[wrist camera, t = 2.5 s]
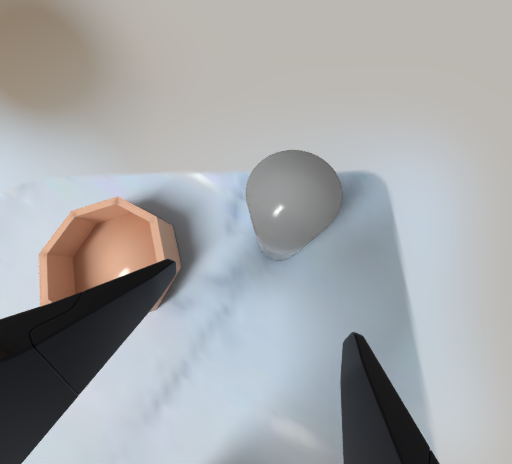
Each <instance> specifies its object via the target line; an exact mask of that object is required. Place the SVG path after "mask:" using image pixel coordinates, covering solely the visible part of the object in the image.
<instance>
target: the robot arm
mask: <svg viewBox="0 0 512 464" xmlns="http://www.w3.org/2000/svg"><path fill="white" fill-rule="evenodd" d="M175 275H176V262H175V261H174V260H171V259H165V260H162V261H160V262H157V263H155V264H152V265H149V266H147V267H144V268H142V269H139V270H136V271H134V272H131V273H129V274H126V275H123V276H121V277H118V278H116V279H113V280H110V281H108V282H105V283H103V284H100V285H98V286H95V287H92V288H90V289H87V290H85V291H84V292H83V291H82V292H79V293H77V294H74V295H71V296H69V297H66V298H63V299H60V300H58V301H55V302H52V303H49V304H46V305H43V306H40V307H37V308H34V309H31V310H28V311H25V312H22V313H19V314H16V315H12V316H9V317H6V318H3V319H0V464H21V463H22V462H23V461H24V460H25V459H26V458H27V456H28V455H29V454H30V453H31V452H32V450H33V449H34V448H35V447H36V446H37V444H38V443H39V442H40V441H41V440H42V439H43V437H44V436H45V435H46V434H47V433H48V431H49V430H50V429H51V428H52V427H53V425H54V424H55V423H56V422H57V421H58V420H59V418H60V417H61V416H62V415H63V414H64V412H65V411H66V410H67V409H68V408H69V406H70V405H71V404H72V403H73V402H74V401H75V399H76V398H77V397H78V396H79V394H80V393H81V392H82V391H83V390H84V388H85V387H86V386H87V385H88V384H89V383H90V381H91V380H92V379H93V378H94V377H95V375H96V374H97V373H98V372H99V371H100V369H101V368H102V367H103V366H104V365H105V364H106V362H107V361H108V360H109V359H110V358H111V356H112V355H113V354H114V353H115V352H116V351H117V349H118V348H119V347H120V346H121V345H122V343H123V342H124V341H125V340H126V339H127V337H128V336H129V335H130V334H131V333H132V332H133V330H134V329H135V328H136V327H137V326H138V324H139V323H140V322H141V321H142V320H143V318H144V317H145V316H146V315H147V314H148V313H149V311H150V310H151V309H152V308H153V307H154V305H155V304H156V303H157V302H158V300H159V299H160V297H161V296H162V295H163V293H164V292H165V290H166V289H167V287H168V286H169V284H170V283H171V281H172V280H173V278H174V277H175ZM341 408H342V432H343V457H344V464H439V462H438V460H437V459H436V457H435V455H434V454H433V452H432V451H431V450H430V447H429V445H428V444H427V442H426V440H425V439H424V437H423V435H422V434H421V432H420V430H419V429H418V427H417V425H416V424H415V422H414V420H413V419H412V417H411V415H410V414H409V412H408V410H407V409H406V407H405V405H404V404H403V402H402V400H401V399H400V397H399V395H398V394H397V392H396V390H395V389H394V387H393V385H392V383H391V382H390V380H389V378H388V377H387V375H386V373H385V372H384V370H383V368H382V367H381V365H380V363H379V362H378V360H377V358H376V357H375V355H374V353H373V352H372V350H371V348H370V347H369V345H368V343H367V342H366V340H365V338H364V337H363V336H362V335H360V334H358V333H355V332H352V333H351V334H350V335H349V336H348V337H347V338H346V339H345V340H344V342H343V349H342V365H341Z"/></svg>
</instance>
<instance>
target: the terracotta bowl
mask: <svg viewBox="0 0 512 464" xmlns="http://www.w3.org/2000/svg"><path fill="white" fill-rule="evenodd" d="M165 259H171V260H174V261H175V262H176V275H175V277H176V276H177V274H178V272H179V271H180V269H181V267H182V266H181V262H180V257H179V252H178V248H177V243H176V238H175V233H174V229H173V226H172V225H171V224H169V223H167V222H165V221H163V220H162V219H160V218H158V217H156V216H154V215H152V214H150V213H148V212H147V211H145V210H143V209H141V208H139V207H137V206H135V205H133V204H131V203H129V202H128V201H126V200H124V199H122V198H120V197H114V198H111V199H108V200H105V201H102V202H98V203H95V204H92V205H89V206H86V207H83V208H79V209H76V210H73V211H71V212H70V213H69V215H68V216H67V217H66V219H65V220H64V221H63V223H62V224H61V225H60V227H59V228H58V229H57V231H56V232H55V233H54V235H53V236H52V237H51V239H50V240H49V241H48V243H47V244H46V245H45V247H44V248H43V249H42V251H41V252H40V253H39V278H40V306H43V305H46V304H49V303H52V302H55V301H58V300H60V299H63V298H66V297H69V296H71V295H74V294H77V293H79V292H82V291H83V292H84V291H85V290H87V289H90V288H92V287H95V286H98V285H100V284H103V283H105V282H108V281H110V280H113V279H116V278H118V277H121V276H123V275H126V274H129V273H131V272H134V271H136V270H139V269H142V268H144V267H147V266H149V265H152V264H155V263H157V262H160V261H162V260H165ZM175 277H174V278H173V280H172V281H171V283H170V284H169V286H168V287H167V289H166V290H165V292H164V293H163V295H162V296H161V297H160V299H159V300H158V302H157V303H156V304H155V305H154V307H153V308H152V309H151V310H150V311H149V312H151V311H154V310H157V308H158V306H159V305H160V303H161V301H162V299H163V298H164V296H165V294H166V293H167V291H168V289H169V288H170V286H171V284H172V283H173V281H174V279H175Z"/></svg>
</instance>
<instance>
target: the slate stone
mask: <svg viewBox="0 0 512 464" xmlns="http://www.w3.org/2000/svg"><path fill="white" fill-rule="evenodd" d="M246 201H247V205H248V209H249V213H250V217H251V220H252V224H253V228H254V231H255V235H256V239H257V242H258V246H259V248H260V250H261V252H262V253H263V254H264V255H265V256H266V257H268V258H270V259H272V260H276V261H283V260H287V259H289V258H291V257H292V256H294V255H295V254H296V253H297V252H298V251H300V250H301V249H302V248H303V247H304V246H305V245H307V244H308V243H309V242H310V241H311V240H313V239H314V238H315V237H316V236H317V235H318V234H320V233H321V232H322V231H323V230H324V229H326V228H327V227H328V226H329V225H330V224H331V223H332V222H333V220H334V219H335V218H336V216H337V214H338V212H339V210H340V207H341V203H342V187H341V183H340V180H339V178H338V176H337V174H336V172H335V171H334V170H333V168H332V167H331V166H330V165H329V164H328V163H327V162H326V161H324V160H323V159H322V158H319V157H318V156H316V155H314V154H312V153H309V152H305V151H299V150H287V151H281V152H278V153H275V154H272V155H270V156H268V157H266V158H265V159H264V160H262V161H261V162H260V163H259V164H258V165H257V166H256V167H255V168H254V170H253V171H252V173H251V174H250V176H249V179H248V182H247V186H246Z"/></svg>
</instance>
